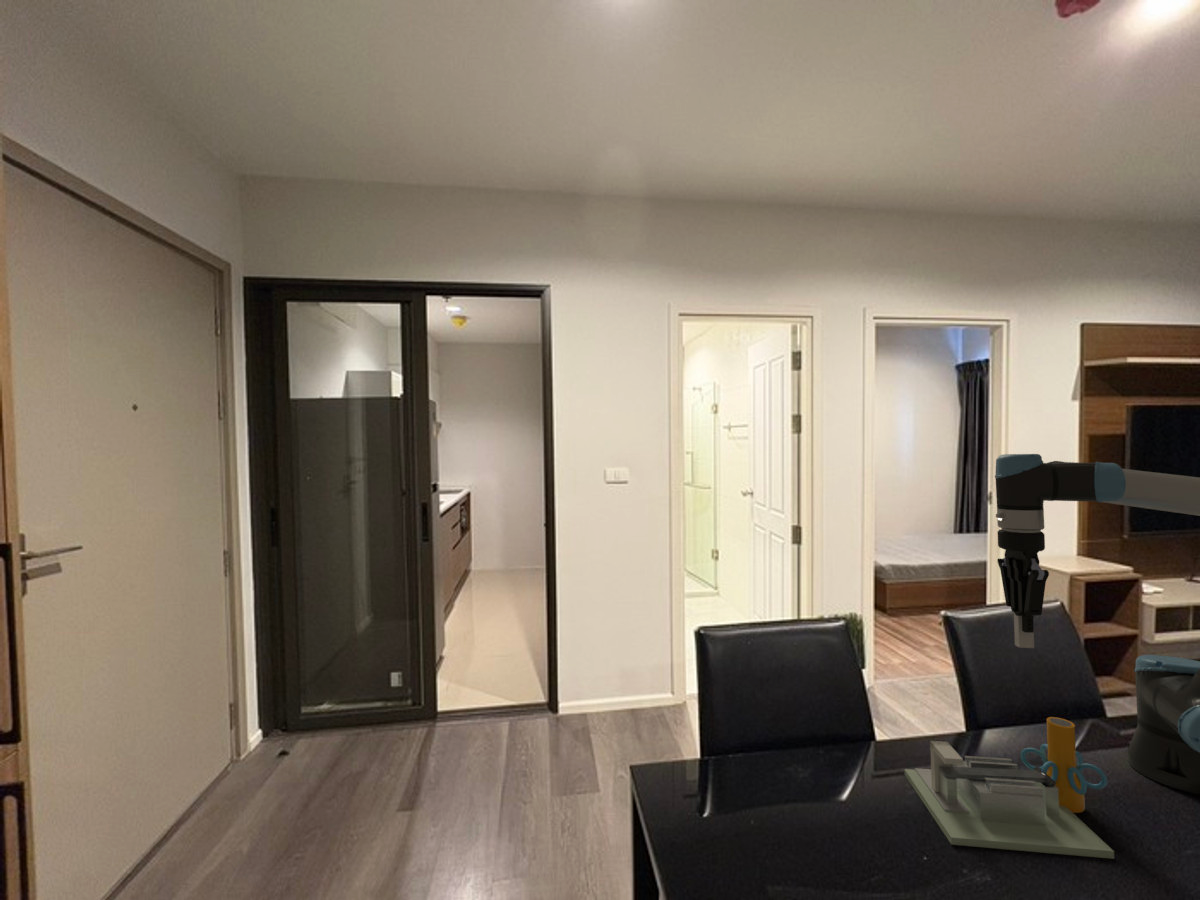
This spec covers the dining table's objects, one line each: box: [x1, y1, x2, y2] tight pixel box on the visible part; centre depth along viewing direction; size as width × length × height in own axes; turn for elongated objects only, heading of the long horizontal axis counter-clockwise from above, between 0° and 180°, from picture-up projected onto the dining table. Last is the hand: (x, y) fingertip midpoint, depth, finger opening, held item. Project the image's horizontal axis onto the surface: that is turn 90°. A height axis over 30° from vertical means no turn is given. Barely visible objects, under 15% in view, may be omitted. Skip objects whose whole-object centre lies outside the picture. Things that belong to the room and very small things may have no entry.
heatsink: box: [940, 755, 1059, 826], centre depth 98 cm, size 18×10×6 cm, turn 81°
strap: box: [939, 766, 1056, 787], centre depth 98 cm, size 18×4×1 cm, turn 81°
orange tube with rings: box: [1020, 716, 1108, 814], centre depth 100 cm, size 12×10×15 cm
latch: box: [929, 740, 964, 793], centre depth 100 cm, size 3×6×9 cm, turn 171°
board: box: [904, 767, 1115, 859], centre depth 98 cm, size 24×20×2 cm
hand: (1024, 646), depth 108 cm, fingers closed
